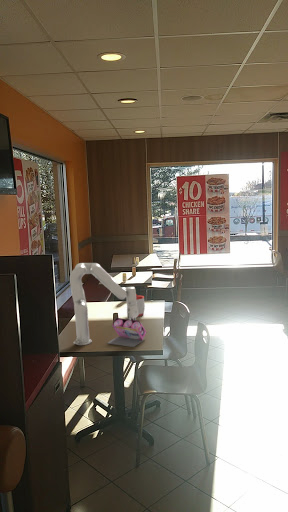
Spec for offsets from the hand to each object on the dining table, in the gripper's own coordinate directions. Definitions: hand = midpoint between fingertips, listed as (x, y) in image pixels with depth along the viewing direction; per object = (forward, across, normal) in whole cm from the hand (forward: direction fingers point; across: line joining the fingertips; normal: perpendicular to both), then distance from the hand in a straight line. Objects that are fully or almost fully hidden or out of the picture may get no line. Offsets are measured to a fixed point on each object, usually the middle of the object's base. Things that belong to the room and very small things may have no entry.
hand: (133, 326), depth 332 cm
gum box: (+6, -1, +1) cm, 7 cm away
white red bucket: (+9, +56, +29) cm, 63 cm away
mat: (+9, -12, +1) cm, 15 cm away
